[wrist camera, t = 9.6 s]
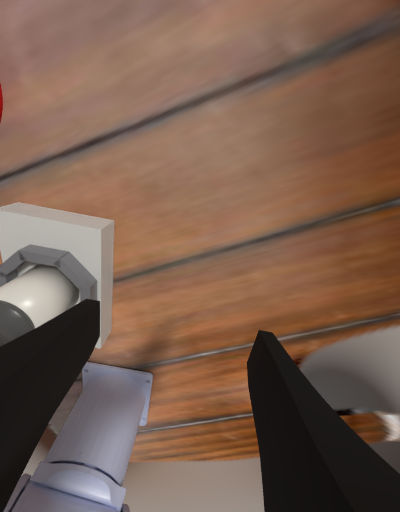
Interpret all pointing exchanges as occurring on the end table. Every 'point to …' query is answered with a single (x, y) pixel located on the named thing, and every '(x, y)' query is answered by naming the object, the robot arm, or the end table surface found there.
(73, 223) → the plate with octagonal ring
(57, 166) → the end table surface
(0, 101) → the decorative ornament
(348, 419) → the end table surface
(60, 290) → the lens
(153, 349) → the end table surface
